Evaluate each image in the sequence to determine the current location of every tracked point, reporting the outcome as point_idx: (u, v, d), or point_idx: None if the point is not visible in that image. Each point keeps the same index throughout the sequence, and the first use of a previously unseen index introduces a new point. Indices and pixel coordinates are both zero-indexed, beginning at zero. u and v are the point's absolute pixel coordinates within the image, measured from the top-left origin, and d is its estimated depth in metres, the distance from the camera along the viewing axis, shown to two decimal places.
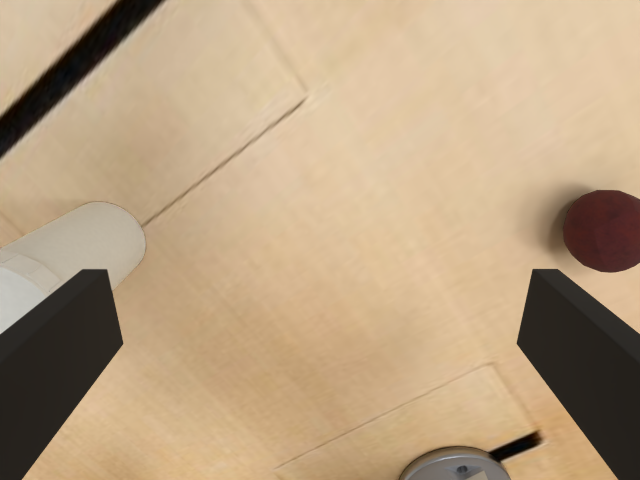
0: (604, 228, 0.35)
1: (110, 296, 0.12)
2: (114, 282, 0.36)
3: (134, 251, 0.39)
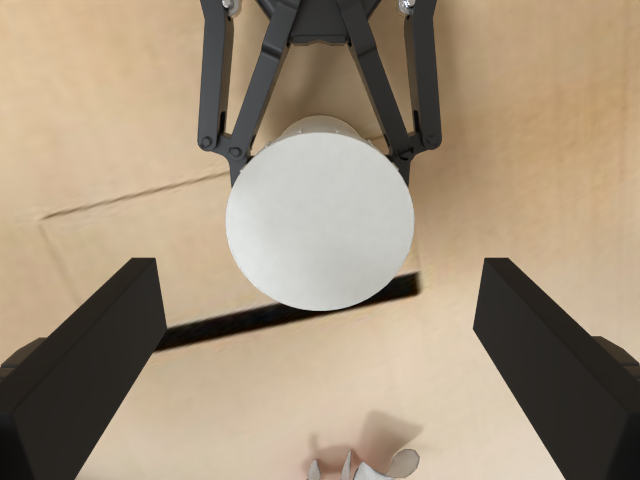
0: None
1: (157, 283, 0.13)
2: None
3: None
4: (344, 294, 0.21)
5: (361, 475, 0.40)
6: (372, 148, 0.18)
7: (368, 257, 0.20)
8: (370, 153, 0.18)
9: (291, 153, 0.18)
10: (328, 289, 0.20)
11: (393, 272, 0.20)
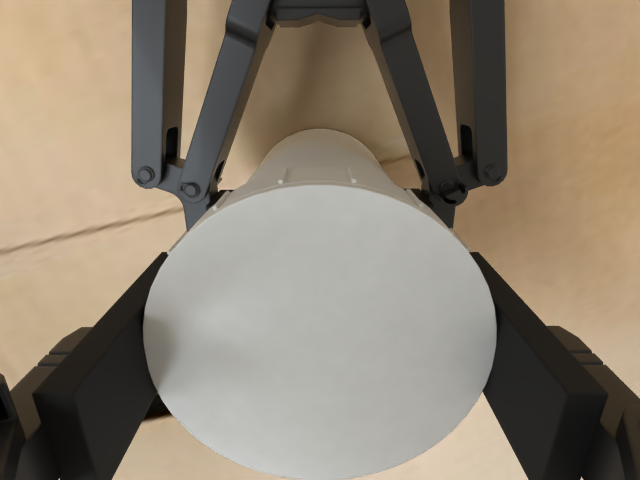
0: None
1: None
2: (254, 173, 0.18)
3: None
4: (363, 457, 0.12)
5: None
6: (424, 215, 0.09)
7: (408, 400, 0.11)
8: (420, 224, 0.09)
9: (263, 224, 0.09)
10: (334, 449, 0.12)
11: (451, 424, 0.11)
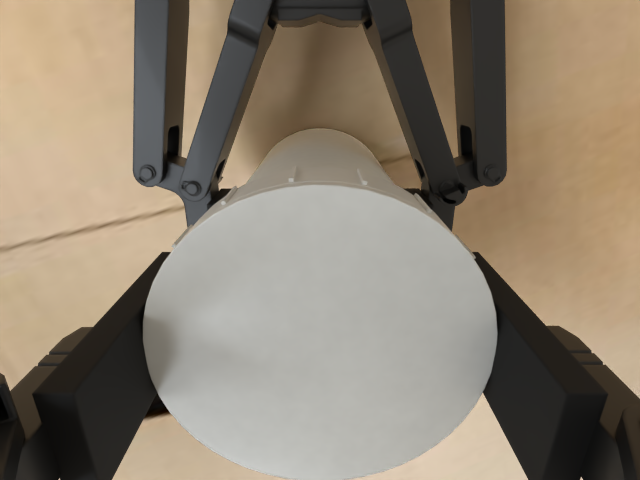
0: None
1: None
2: None
3: None
4: (453, 288, 0.10)
5: None
6: (146, 308, 0.10)
7: (357, 263, 0.09)
8: (155, 310, 0.10)
9: (202, 418, 0.11)
10: (444, 319, 0.10)
11: (384, 204, 0.09)
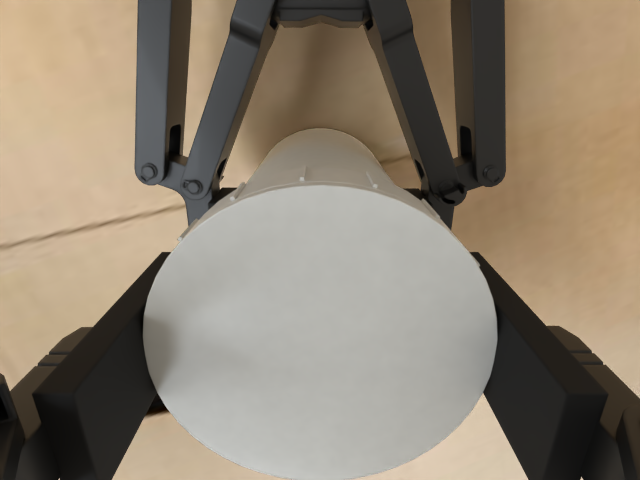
0: None
1: None
2: (256, 171, 0.18)
3: None
4: (205, 263, 0.09)
5: None
6: (304, 479, 0.12)
7: (210, 348, 0.10)
8: (304, 474, 0.12)
9: (416, 436, 0.11)
10: (242, 260, 0.09)
11: (149, 342, 0.10)
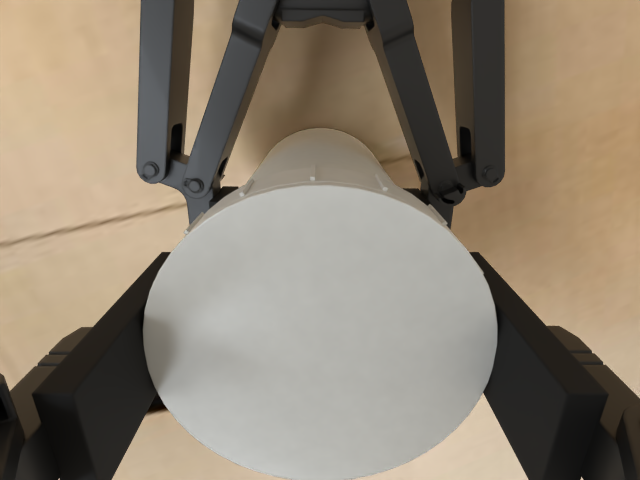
0: None
1: None
2: (257, 170, 0.18)
3: None
4: (250, 449, 0.12)
5: None
6: (495, 338, 0.10)
7: (332, 438, 0.11)
8: (487, 342, 0.10)
9: (409, 240, 0.09)
10: (238, 427, 0.11)
11: (336, 477, 0.12)
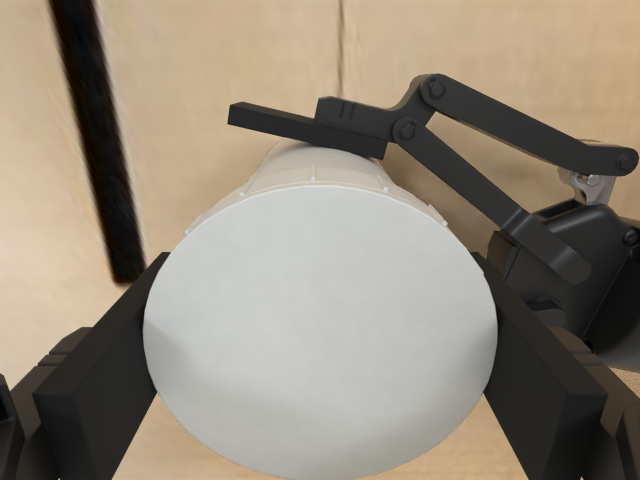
0: None
1: None
2: None
3: None
4: (250, 448, 0.12)
5: None
6: (495, 339, 0.10)
7: (332, 438, 0.11)
8: (487, 342, 0.10)
9: (409, 240, 0.09)
10: (238, 427, 0.11)
11: (336, 477, 0.12)
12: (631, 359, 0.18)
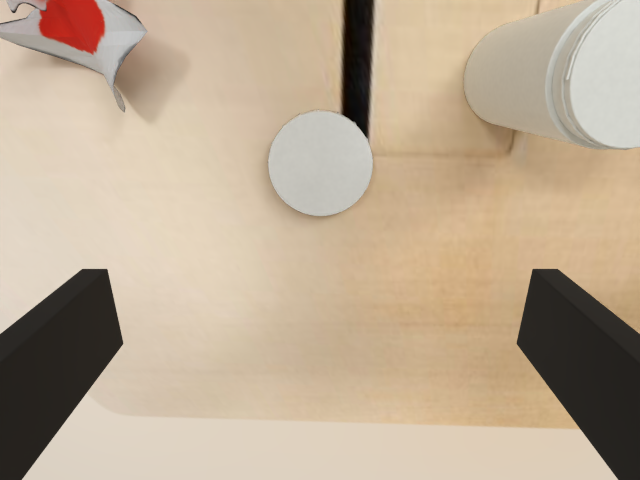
0: None
1: (110, 296, 0.12)
2: None
3: None
4: (298, 201, 0.36)
5: (125, 24, 0.28)
6: (372, 159, 0.35)
7: (324, 197, 0.36)
8: (369, 160, 0.35)
9: (344, 127, 0.34)
10: (294, 192, 0.36)
11: (325, 213, 0.36)
12: None
